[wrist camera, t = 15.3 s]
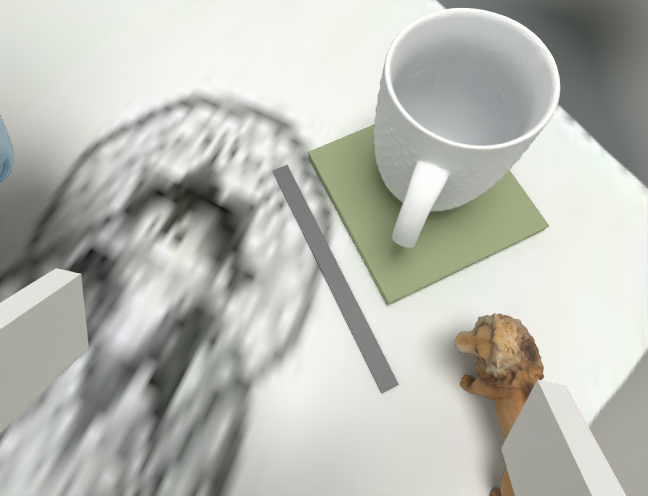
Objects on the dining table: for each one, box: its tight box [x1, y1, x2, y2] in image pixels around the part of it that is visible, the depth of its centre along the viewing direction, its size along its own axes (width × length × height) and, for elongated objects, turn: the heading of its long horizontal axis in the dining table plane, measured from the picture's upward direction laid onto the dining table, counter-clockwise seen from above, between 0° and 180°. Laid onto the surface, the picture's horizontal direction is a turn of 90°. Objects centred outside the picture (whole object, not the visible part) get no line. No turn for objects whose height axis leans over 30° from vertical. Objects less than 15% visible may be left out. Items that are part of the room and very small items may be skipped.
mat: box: [308, 125, 549, 305], centre depth 38 cm, size 16×16×1 cm
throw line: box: [273, 165, 399, 393], centre depth 35 cm, size 22×2×1 cm, turn 25°
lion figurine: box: [455, 313, 544, 496], centre depth 27 cm, size 15×5×9 cm, turn 17°
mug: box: [374, 8, 560, 248], centre depth 31 cm, size 15×11×13 cm
